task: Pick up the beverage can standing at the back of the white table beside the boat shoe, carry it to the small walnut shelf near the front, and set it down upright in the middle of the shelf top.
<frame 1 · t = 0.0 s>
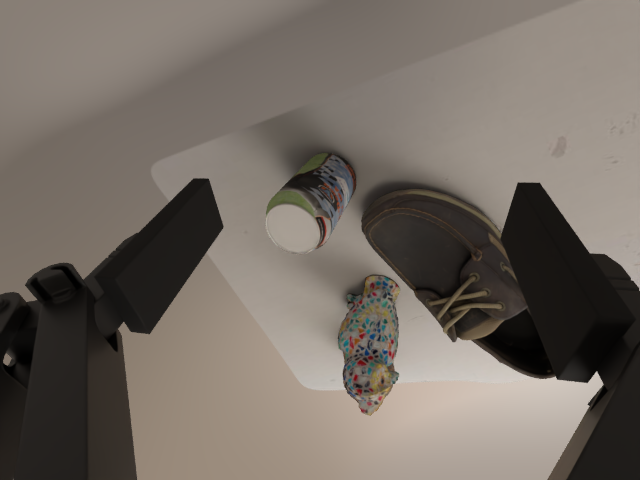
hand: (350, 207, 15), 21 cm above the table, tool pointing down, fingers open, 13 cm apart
beverage can: (325, 171, 37), on the table
figurine: (375, 299, 48), on the table
boat shoe: (468, 255, 41), on the table
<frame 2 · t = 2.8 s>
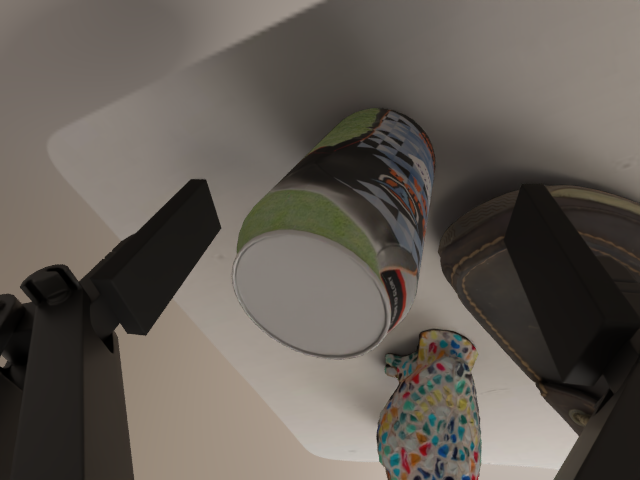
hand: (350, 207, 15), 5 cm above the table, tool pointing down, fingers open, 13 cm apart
beverage can: (366, 151, 19), on the table
figurine: (431, 361, 30), on the table
boat shoe: (619, 306, 22), on the table, touching gripper
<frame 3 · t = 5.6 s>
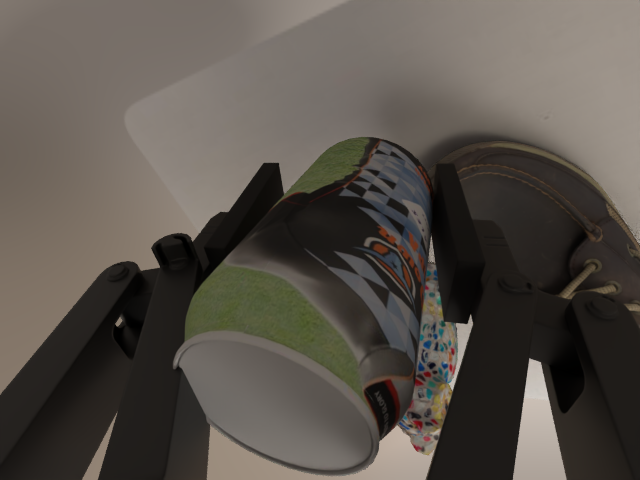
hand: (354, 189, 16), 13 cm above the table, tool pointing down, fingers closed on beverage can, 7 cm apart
beverage can: (355, 181, 17), point 12 cm above the table, touching gripper
figurine: (419, 294, 37), on the table
boat shoe: (555, 239, 30), on the table
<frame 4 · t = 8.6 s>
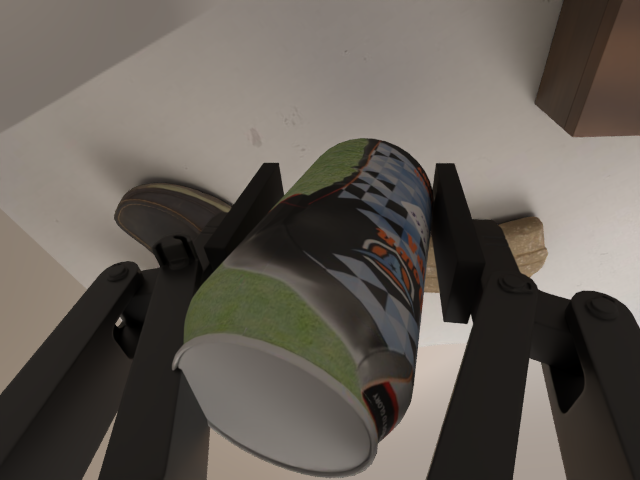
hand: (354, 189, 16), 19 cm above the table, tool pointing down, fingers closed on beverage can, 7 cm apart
beverage can: (355, 182, 17), point 18 cm above the table, touching gripper
decorative stone: (465, 251, 40), on the table
boat shoe: (240, 242, 46), on the table
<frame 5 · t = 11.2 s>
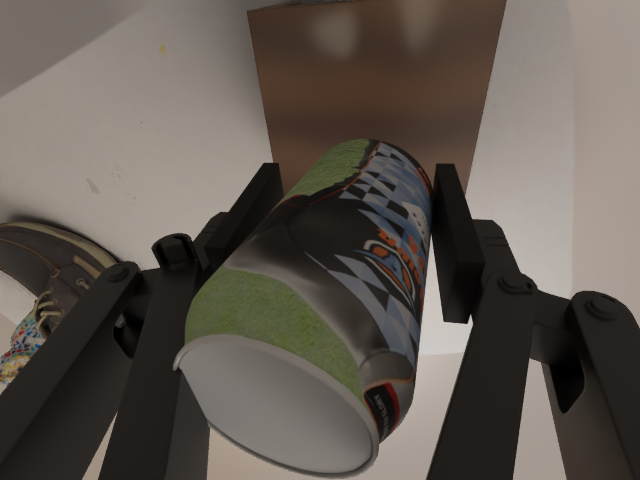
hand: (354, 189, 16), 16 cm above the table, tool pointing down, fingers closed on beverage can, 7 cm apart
walnut shelf: (373, 96, 28), on the table
beverage can: (355, 183, 17), point 15 cm above the table, touching gripper
figurine: (76, 302, 57), on the table
boat shoe: (109, 271, 50), on the table
when the fingers open (9 cm above the table, at t = 13.4 s): beverage can stays where it is, resting on walnut shelf.
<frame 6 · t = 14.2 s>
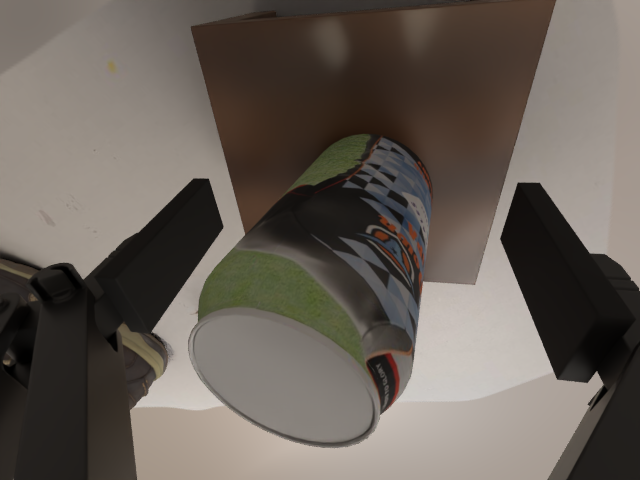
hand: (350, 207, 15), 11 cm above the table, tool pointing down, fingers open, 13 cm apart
walnut shelf: (367, 125, 23), on the table
beverage can: (357, 177, 17), point 8 cm above the table, touching walnut shelf
boat shoe: (75, 305, 45), on the table
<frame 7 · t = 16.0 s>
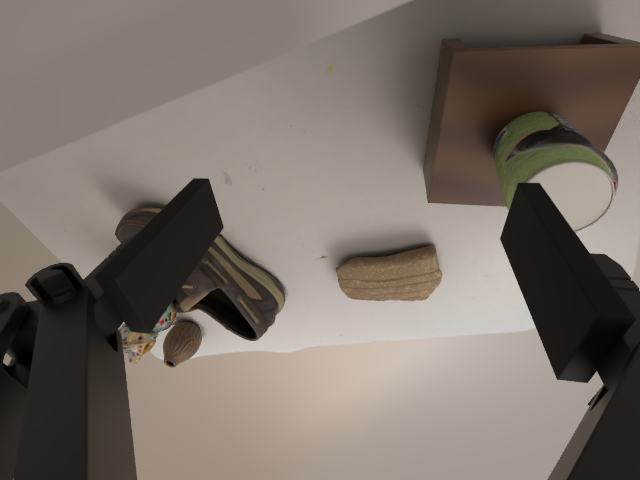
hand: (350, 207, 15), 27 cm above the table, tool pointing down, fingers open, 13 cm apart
walnut shelf: (499, 112, 36), on the table
beverage can: (520, 138, 30), point 8 cm above the table, touching walnut shelf
figurine: (172, 283, 64), on the table
decorative stone: (388, 269, 52), on the table
vase: (191, 326, 71), on the table
boat shoe: (215, 254, 57), on the table
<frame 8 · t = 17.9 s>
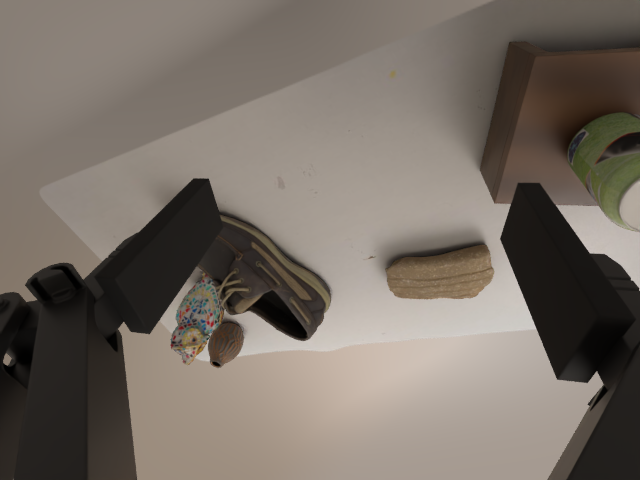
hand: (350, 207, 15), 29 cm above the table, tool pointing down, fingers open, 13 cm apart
walnut shelf: (562, 111, 36), on the table
beverage can: (595, 139, 30), point 8 cm above the table, touching walnut shelf
figurine: (217, 285, 65), on the table
decorative stone: (436, 268, 53), on the table
vase: (232, 327, 73), on the table
boat shoe: (263, 256, 58), on the table
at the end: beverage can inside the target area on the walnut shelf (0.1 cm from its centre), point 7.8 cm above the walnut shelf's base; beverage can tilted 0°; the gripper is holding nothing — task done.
